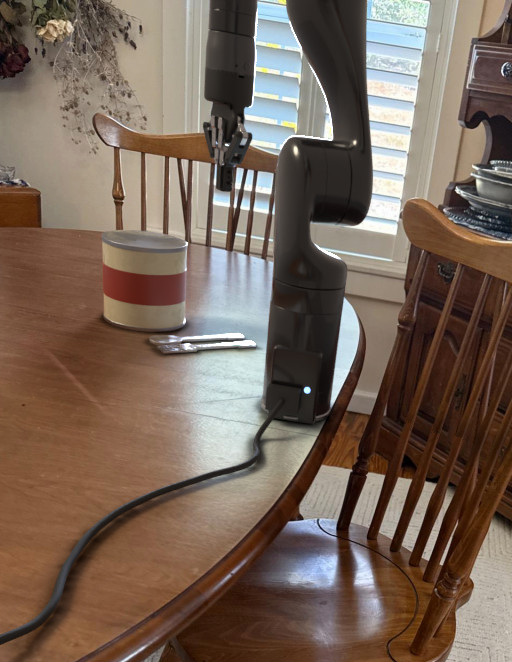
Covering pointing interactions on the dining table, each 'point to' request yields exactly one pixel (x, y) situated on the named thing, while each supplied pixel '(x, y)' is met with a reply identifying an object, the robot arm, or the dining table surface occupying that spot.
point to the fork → (203, 347)
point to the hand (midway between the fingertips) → (223, 190)
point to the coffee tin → (144, 280)
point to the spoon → (191, 338)
